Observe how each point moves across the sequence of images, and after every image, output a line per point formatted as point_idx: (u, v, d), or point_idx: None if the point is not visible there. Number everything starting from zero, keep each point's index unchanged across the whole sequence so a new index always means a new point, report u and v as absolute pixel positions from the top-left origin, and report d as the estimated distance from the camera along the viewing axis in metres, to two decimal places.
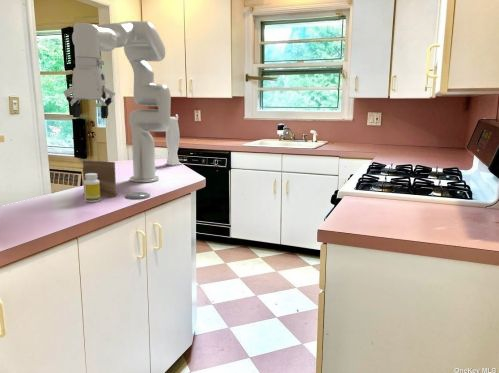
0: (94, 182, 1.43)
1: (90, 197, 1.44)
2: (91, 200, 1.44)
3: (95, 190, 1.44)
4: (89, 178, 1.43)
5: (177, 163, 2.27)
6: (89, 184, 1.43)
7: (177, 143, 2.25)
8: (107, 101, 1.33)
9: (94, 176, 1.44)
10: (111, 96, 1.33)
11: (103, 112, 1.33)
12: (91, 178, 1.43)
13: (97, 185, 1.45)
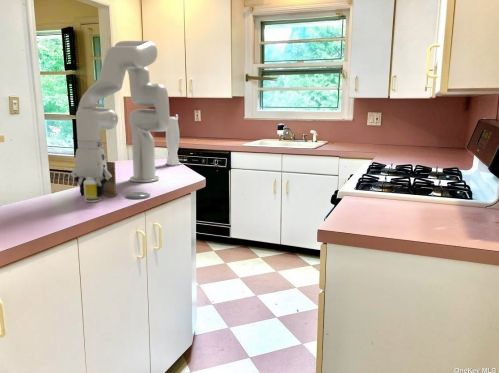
0: (94, 182, 1.43)
1: (90, 197, 1.44)
2: (91, 200, 1.44)
3: (95, 190, 1.44)
4: (89, 178, 1.43)
5: (177, 163, 2.27)
6: (89, 184, 1.43)
7: (177, 143, 2.25)
8: (103, 181, 1.44)
9: None
10: (107, 178, 1.44)
11: (99, 191, 1.44)
12: (91, 178, 1.43)
13: (97, 185, 1.44)
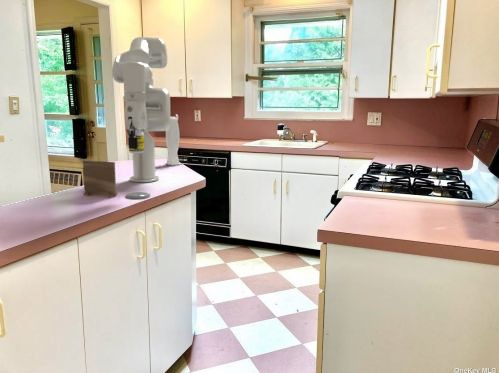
0: None
1: None
2: (129, 150, 1.51)
3: None
4: None
5: (177, 163, 2.27)
6: None
7: (177, 143, 2.25)
8: None
9: (131, 127, 1.48)
10: None
11: (129, 143, 1.47)
12: None
13: None
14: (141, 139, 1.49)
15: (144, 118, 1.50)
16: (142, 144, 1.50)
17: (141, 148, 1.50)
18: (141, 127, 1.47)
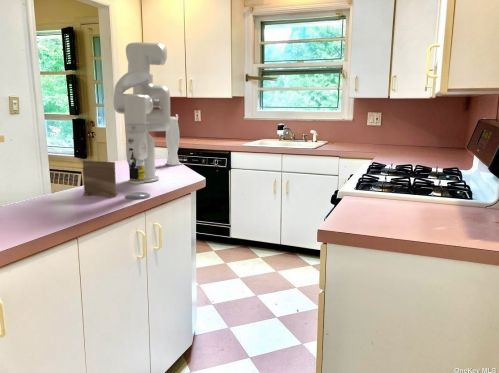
0: None
1: None
2: (130, 180, 1.53)
3: None
4: None
5: (177, 163, 2.27)
6: None
7: (177, 143, 2.25)
8: None
9: (132, 158, 1.50)
10: None
11: (130, 173, 1.50)
12: None
13: None
14: (142, 169, 1.51)
15: (145, 149, 1.52)
16: (143, 174, 1.52)
17: (142, 178, 1.52)
18: (142, 158, 1.50)
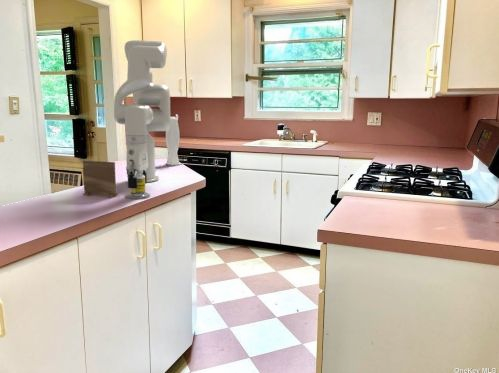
0: None
1: (130, 190, 1.54)
2: (130, 192, 1.54)
3: None
4: None
5: (177, 163, 2.27)
6: None
7: (177, 143, 2.25)
8: None
9: None
10: None
11: (129, 182, 1.49)
12: None
13: None
14: (142, 182, 1.53)
15: (145, 159, 1.53)
16: (143, 187, 1.54)
17: (143, 191, 1.53)
18: (142, 169, 1.51)
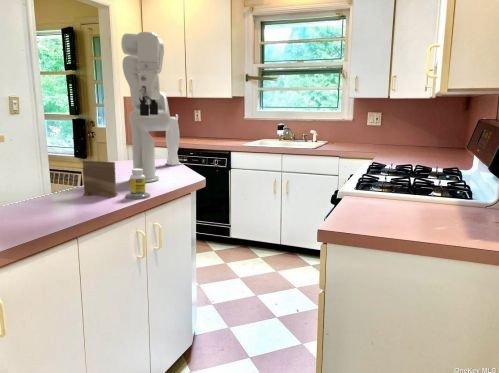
0: (131, 176, 1.52)
1: (130, 190, 1.54)
2: (130, 192, 1.54)
3: (131, 184, 1.52)
4: None
5: (177, 163, 2.27)
6: (130, 177, 1.53)
7: (177, 143, 2.25)
8: None
9: (133, 171, 1.52)
10: None
11: (141, 110, 1.49)
12: (132, 172, 1.52)
13: (133, 180, 1.51)
14: (142, 182, 1.53)
15: (157, 89, 1.53)
16: (143, 187, 1.54)
17: (143, 191, 1.53)
18: (154, 97, 1.51)
